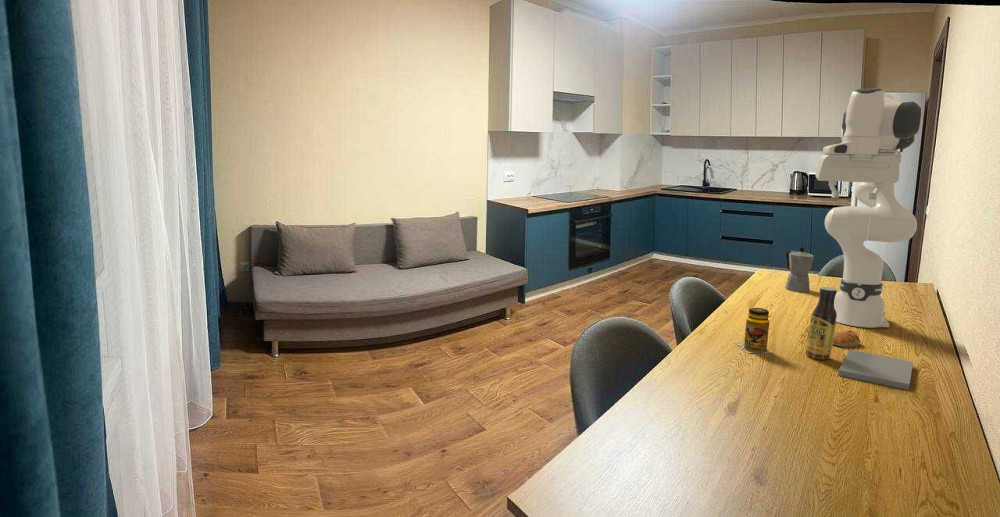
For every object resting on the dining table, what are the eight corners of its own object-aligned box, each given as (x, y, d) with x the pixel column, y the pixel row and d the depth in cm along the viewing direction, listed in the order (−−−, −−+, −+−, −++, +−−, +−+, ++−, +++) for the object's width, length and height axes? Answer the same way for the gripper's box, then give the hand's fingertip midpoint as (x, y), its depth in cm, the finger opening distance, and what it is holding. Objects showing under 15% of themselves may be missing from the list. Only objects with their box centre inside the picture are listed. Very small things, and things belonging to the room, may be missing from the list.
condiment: (748, 353, 167) (752, 312, 165) (735, 343, 175) (739, 304, 173) (773, 353, 167) (778, 313, 165) (759, 344, 176) (763, 305, 173)
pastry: (848, 350, 172) (850, 338, 171) (824, 344, 177) (826, 332, 176) (861, 344, 178) (863, 332, 177) (837, 338, 183) (839, 327, 182)
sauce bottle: (800, 354, 167) (808, 286, 163) (815, 352, 169) (824, 284, 166) (820, 362, 161) (829, 291, 157) (836, 359, 163) (845, 289, 160)
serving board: (848, 354, 168) (849, 349, 167) (912, 367, 159) (913, 361, 159) (838, 375, 152) (838, 369, 152) (908, 390, 143) (909, 384, 143)
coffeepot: (818, 293, 241) (823, 249, 238) (798, 294, 239) (803, 250, 236) (792, 284, 256) (797, 243, 253) (773, 285, 254) (777, 244, 251)
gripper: (897, 149, 164) (890, 199, 166) (817, 147, 168) (811, 196, 170) (907, 149, 158) (900, 201, 160) (824, 146, 162) (818, 197, 164)
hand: (853, 198), depth 165 cm, fingers open, 8 cm apart
